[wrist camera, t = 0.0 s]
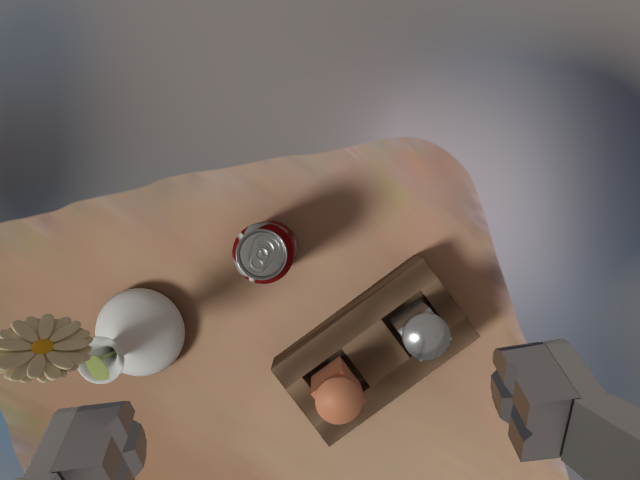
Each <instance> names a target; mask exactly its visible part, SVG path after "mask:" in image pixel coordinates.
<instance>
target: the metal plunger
mask: <svg viewBox="0 0 640 480" xmlns="http://www.w3.org/2000/svg"><path fill="white" fill-rule="evenodd" d="M389 320H390V321H391V322H392V324H393V325H394V327H395V328H396V330H397V331H398V332H399V334H400V335H401V336H402V341H403V344H404V346H405V348H406V349H407V351H408V352H409V353H410V354H411V355H412V356H414V357H415V358H417V359H419V361H420V362H421V361H423V360H433V359H436V358H438V357H440V356H441V355H442V354H443V353H444V352H445V351H446V350H447V348H448V346H449V344H450V340H451V339H452V338H451V334H450V330H449V327H448V325H447V323H446V322H445V321H444V320H443V319H442V318H441V317H439V316H438V315H436V314H434V313H433V312H432V310H431V309H430V308H429V307H428V306H427V305H426V304H425V303H423V302H422V301H421V300H420V299H419V298H418V299H416V300H415V301H414V302H412V303H411V304H409V305H408V306H407V307H405V308H404V309H403V310H401V311H400V312H399V313H397V314H396V315H394V316H393V317H392V318H390V319H389Z"/></svg>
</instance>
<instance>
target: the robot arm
mask: <svg viewBox="0 0 640 480" xmlns="http://www.w3.org/2000/svg"><path fill="white" fill-rule="evenodd" d="M493 363H494V365H495V367H496V369H497V370H496V371H495V372H494V373H493V374H492V375H491V392H492V398H493V401H494V404H495V408H496V410H497V412H498V414H499V417H500V418H501V419H503V420H504V421H506V422H507V423H508V424H509V431H508V436H509V438H510V440H511V442H512V445H513V447H514V449H515V451H516V453H517V455H518V457H519V459H520V461H521V462H526V461H535V460H544V459H553V458H561V460H562V461H563V462H564V463H565V464H567V465H568V466H569V467H570V468H571V469H573V470H574V471H575V472H576V473H577V474H579V475H580V476H581V477H582V478H584V479H585V480H640V408H638V407H636V406H634V405H633V404H631V403H629V402H627V401H626V400H624V399H622V398H620V397H618V396H617V395H615V394H613V395H607V394H606V392H605V391H604V390H603V389H602V387H601V386H600V384H599V383H598V382H597V380H596V379H595V377H594V376H593V375H592V373H591V372H590V371H589V369H588V368H587V367H586V365H585V364H584V363H583V361H582V360H581V358H580V357H579V356H578V354H577V353H576V351H575V350H574V349H573V347H572V346H571V345H570V343H569V342H568V341H567V340H565V339H556V340H550V341H544V342H535V343H529V344H522V345H515V346H509V347H502V348H496V349H495V351H494V353H493ZM134 413H135V410H134V408H133V406H132V404H131V403H130V401H120V402H111V403H102V404H94V405H85V406H79V407H71V408H62V409H58V410H57V411H56V412H55V413H54V414H53V415H52V417H51V419H50V421H49V424H48V426H47V428H46V430H45V432H44V434H43V437H42V439H41V441H40V443H39V445H38V447H37V449H36V452H35V454H34V456H33V458H32V460H31V462H30V465H29V467H28V469H27V471H26V473H25V475H24V477H22V478H17V479H15V480H135V479H134V478H135V477H136V476H137V475H138V473H139V472H140V471H141V470H142V469H143V468H144V464H145V459H146V447H147V441H146V436H145V432H144V429H143V427H142V425H141V424H140V423H138V422H136V421H134V420H133V417H134Z"/></svg>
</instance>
